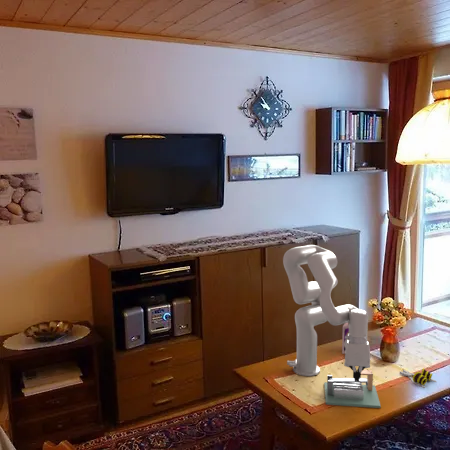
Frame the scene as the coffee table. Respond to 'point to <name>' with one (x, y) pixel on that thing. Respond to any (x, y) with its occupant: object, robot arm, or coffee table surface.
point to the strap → (349, 380)
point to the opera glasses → (422, 377)
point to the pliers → (406, 373)
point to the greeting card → (344, 341)
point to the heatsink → (344, 390)
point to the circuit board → (368, 399)
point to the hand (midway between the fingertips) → (356, 379)
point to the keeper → (368, 378)
